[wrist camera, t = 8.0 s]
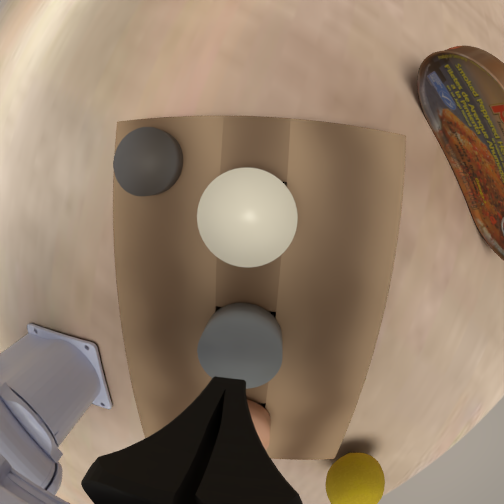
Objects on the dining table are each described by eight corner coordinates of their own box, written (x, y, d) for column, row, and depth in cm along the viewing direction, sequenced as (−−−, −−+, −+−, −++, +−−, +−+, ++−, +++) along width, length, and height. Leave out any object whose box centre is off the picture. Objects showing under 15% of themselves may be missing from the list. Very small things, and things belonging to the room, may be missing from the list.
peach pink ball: (216, 407, 22) (203, 453, 17) (216, 367, 21) (200, 414, 16) (269, 413, 21) (266, 460, 16) (275, 373, 20) (273, 422, 15)
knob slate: (216, 338, 20) (198, 383, 15) (217, 280, 19) (196, 314, 14) (278, 344, 20) (277, 391, 15) (285, 285, 19) (287, 323, 14)
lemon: (360, 430, 22) (376, 496, 14) (383, 450, 23) (400, 508, 15) (312, 454, 23) (316, 519, 15) (339, 472, 24) (347, 529, 16)
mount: (157, 412, 23) (140, 446, 19) (142, 130, 18) (106, 118, 13) (330, 430, 22) (335, 469, 18) (384, 142, 16) (415, 132, 12)
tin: (398, 78, 15) (460, 29, 7) (427, 64, 15) (490, 20, 7) (484, 258, 18) (554, 293, 9) (506, 237, 17) (576, 264, 9)
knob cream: (218, 240, 18) (196, 263, 13) (221, 170, 17) (199, 165, 12) (288, 246, 18) (292, 271, 13) (294, 174, 17) (301, 171, 12)
